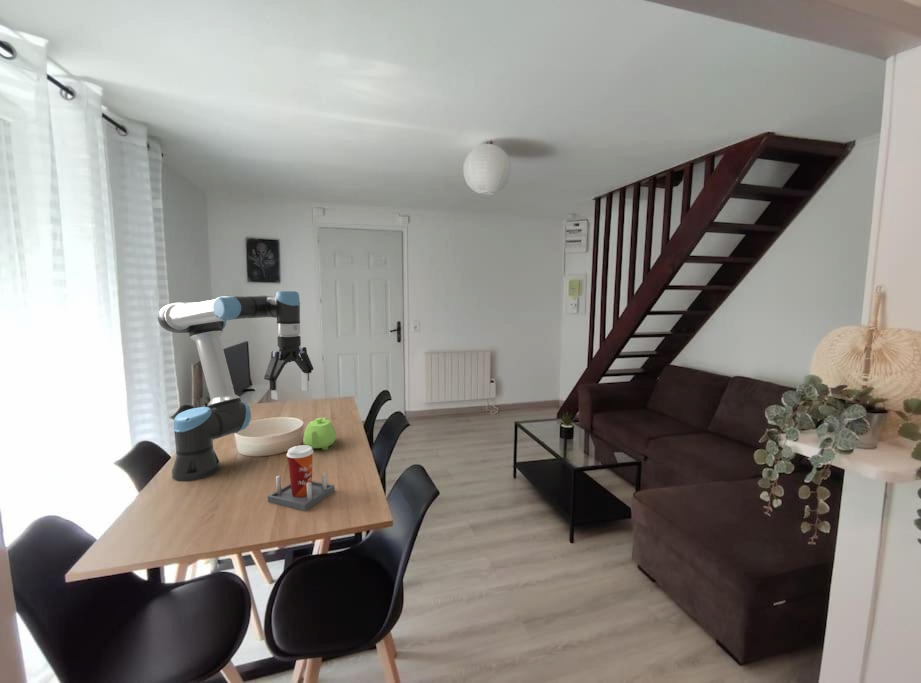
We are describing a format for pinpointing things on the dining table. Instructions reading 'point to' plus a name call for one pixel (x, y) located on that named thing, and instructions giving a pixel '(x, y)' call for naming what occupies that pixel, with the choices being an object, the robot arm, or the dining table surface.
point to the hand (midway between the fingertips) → (290, 394)
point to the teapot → (319, 434)
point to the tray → (301, 503)
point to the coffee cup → (300, 469)
